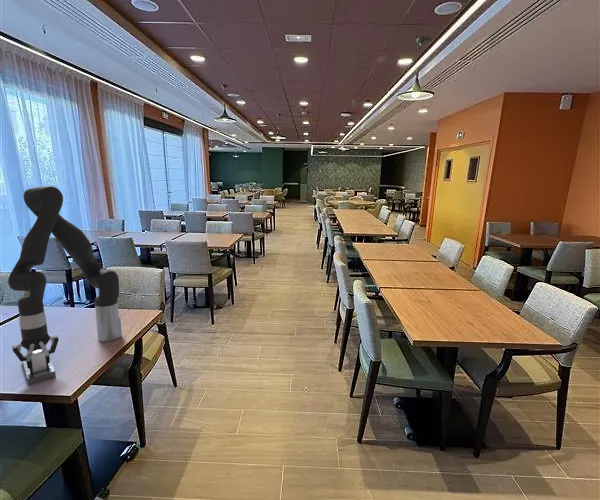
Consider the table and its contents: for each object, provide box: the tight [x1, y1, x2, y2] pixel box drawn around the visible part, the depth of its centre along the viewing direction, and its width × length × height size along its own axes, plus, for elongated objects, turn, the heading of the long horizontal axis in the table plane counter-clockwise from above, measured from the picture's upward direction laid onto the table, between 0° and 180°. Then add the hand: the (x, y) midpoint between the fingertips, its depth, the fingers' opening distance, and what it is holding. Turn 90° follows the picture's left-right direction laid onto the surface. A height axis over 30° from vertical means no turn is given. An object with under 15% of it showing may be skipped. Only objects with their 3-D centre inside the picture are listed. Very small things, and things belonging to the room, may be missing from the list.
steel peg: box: [31, 349, 48, 375], centre depth 124 cm, size 4×4×8 cm
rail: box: [21, 359, 57, 386], centre depth 128 cm, size 8×20×2 cm, turn 44°
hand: (39, 366), depth 124 cm, fingers closed on steel peg, 4 cm apart
